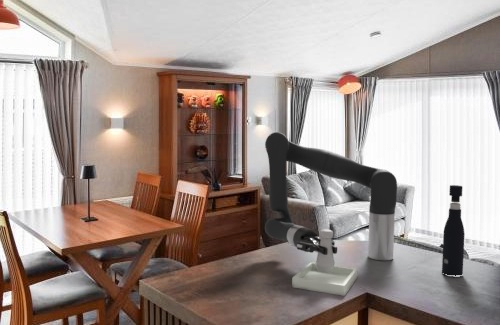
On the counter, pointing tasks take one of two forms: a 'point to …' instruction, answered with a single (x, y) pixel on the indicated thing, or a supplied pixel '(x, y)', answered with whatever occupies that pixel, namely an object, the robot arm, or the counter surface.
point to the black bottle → (453, 236)
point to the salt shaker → (327, 261)
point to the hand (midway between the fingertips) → (331, 251)
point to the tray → (325, 279)
